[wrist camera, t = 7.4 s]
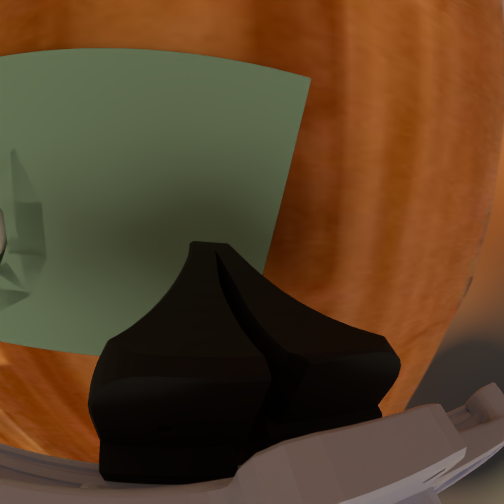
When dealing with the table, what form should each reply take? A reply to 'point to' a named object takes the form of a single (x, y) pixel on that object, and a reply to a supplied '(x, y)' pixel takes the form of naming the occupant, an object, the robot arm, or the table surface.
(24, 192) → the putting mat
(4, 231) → the ball
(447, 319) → the table surface
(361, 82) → the table surface
